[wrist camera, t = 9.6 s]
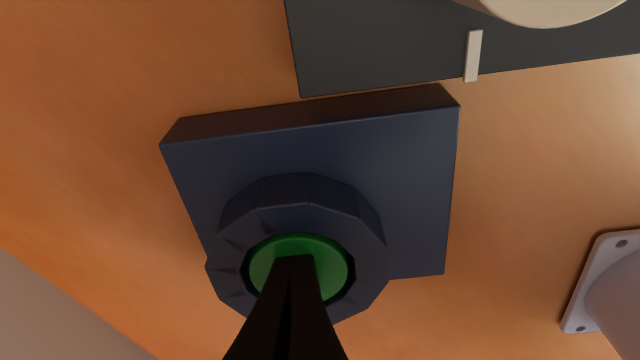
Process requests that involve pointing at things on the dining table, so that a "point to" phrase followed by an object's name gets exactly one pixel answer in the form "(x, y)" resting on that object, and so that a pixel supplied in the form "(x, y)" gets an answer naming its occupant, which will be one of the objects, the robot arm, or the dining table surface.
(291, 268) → the robot arm
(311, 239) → the button
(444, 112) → the switch box
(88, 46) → the dining table surface
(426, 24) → the dimmer panel
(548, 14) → the dimmer knob
